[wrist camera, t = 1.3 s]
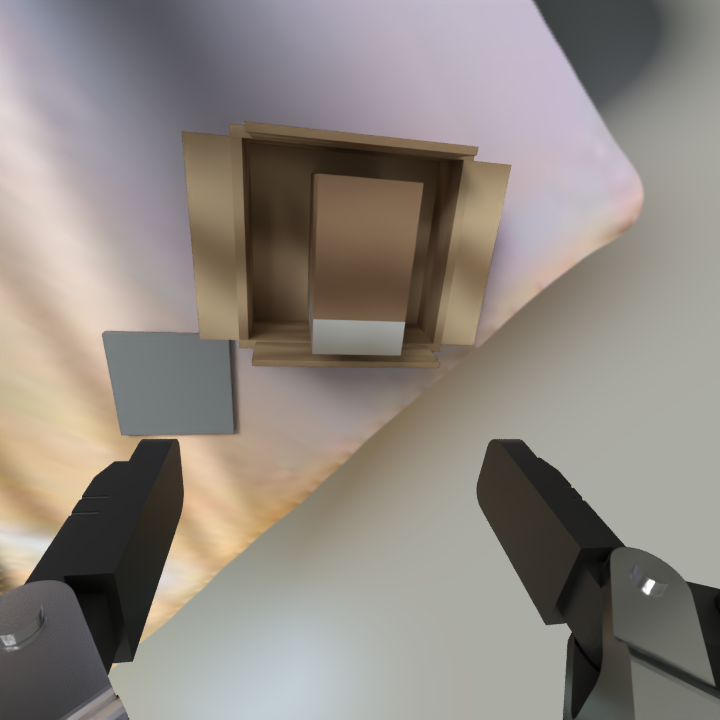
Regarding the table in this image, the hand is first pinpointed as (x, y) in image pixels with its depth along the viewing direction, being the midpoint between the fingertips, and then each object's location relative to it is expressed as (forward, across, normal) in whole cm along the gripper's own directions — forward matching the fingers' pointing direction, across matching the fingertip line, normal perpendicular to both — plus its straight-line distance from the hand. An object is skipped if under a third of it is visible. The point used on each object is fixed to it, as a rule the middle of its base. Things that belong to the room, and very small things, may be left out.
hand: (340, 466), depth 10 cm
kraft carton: (+23, -2, -2) cm, 23 cm away
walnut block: (+22, -2, -2) cm, 22 cm away
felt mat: (+23, +10, +10) cm, 27 cm away
